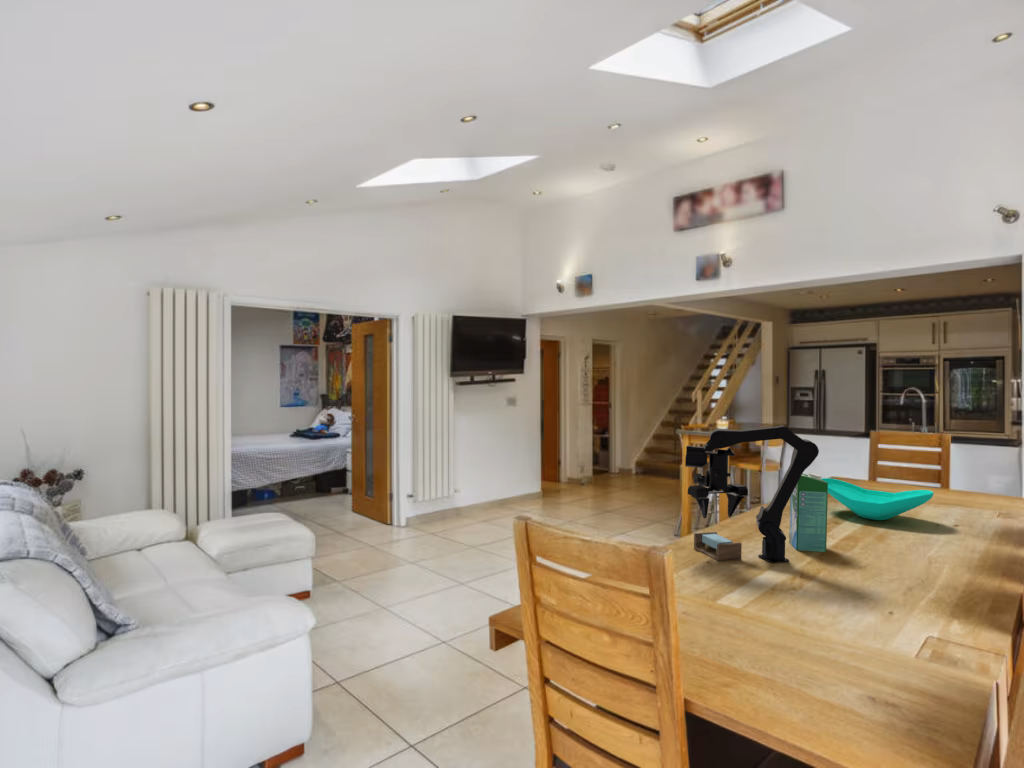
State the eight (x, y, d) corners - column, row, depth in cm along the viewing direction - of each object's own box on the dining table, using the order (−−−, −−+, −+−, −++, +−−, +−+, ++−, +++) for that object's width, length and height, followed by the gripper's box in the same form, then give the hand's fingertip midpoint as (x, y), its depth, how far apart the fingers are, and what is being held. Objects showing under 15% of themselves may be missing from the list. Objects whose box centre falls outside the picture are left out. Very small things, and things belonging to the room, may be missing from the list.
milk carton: (826, 552, 188) (828, 475, 188) (796, 550, 190) (798, 474, 190) (817, 544, 197) (819, 471, 197) (789, 542, 199) (790, 469, 198)
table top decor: (937, 520, 231) (938, 487, 231) (927, 534, 210) (928, 498, 210) (827, 504, 258) (828, 474, 257) (809, 515, 237) (810, 483, 237)
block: (702, 542, 189) (702, 534, 189) (715, 541, 191) (715, 533, 191) (718, 550, 181) (719, 542, 181) (732, 549, 182) (732, 541, 182)
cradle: (741, 559, 180) (741, 543, 180) (718, 561, 178) (719, 545, 178) (715, 546, 193) (715, 531, 193) (693, 548, 191) (694, 533, 191)
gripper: (728, 463, 195) (726, 509, 196) (678, 465, 190) (677, 512, 191) (749, 469, 185) (748, 518, 185) (698, 471, 180) (697, 521, 180)
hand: (717, 517), depth 185 cm, fingers open, 9 cm apart
